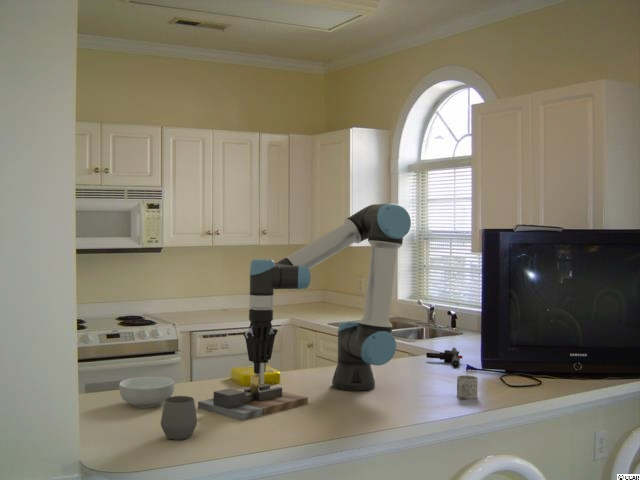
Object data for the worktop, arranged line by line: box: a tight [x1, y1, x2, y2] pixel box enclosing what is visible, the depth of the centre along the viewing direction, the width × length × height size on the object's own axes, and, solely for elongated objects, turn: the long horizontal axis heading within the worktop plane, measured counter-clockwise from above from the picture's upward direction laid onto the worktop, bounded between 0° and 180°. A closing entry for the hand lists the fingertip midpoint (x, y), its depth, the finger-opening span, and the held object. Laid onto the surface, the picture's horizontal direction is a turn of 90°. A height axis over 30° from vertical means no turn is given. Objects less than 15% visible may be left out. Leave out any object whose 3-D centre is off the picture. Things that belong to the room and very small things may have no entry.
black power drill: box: [425, 347, 463, 368], centre depth 301 cm, size 5×20×15 cm
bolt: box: [245, 375, 260, 402], centre depth 219 cm, size 10×3×7 cm, turn 139°
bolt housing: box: [213, 384, 283, 409], centre depth 220 cm, size 22×7×4 cm, turn 139°
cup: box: [160, 395, 198, 441], centre depth 187 cm, size 10×9×10 cm
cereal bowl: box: [118, 376, 175, 408], centre depth 221 cm, size 17×17×7 cm
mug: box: [456, 374, 478, 400], centre depth 237 cm, size 10×7×7 cm, turn 145°
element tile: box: [230, 364, 281, 387], centre depth 259 cm, size 15×15×5 cm
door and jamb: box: [197, 391, 309, 421], centre depth 221 cm, size 28×20×2 cm
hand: (259, 383), depth 223 cm, fingers closed
